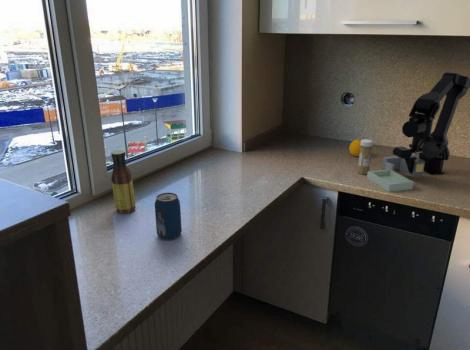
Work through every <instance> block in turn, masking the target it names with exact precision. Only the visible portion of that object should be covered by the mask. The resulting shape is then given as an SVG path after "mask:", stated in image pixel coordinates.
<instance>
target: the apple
mask: <svg viewBox="0 0 470 350" xmlns="http://www.w3.org/2000/svg"><path fill="white" fill-rule="evenodd" d="M361 140H362V139H355V140H353V141H352V142H350V145H349V148H348V149H349V152H350V154H351V155H352V156H354V157H359V155H360V148H361V145H360V144H361Z"/></svg>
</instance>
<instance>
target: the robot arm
mask: <svg viewBox="0 0 470 350" xmlns="http://www.w3.org/2000/svg"><path fill="white" fill-rule="evenodd" d="M469 89H470V77H469V76H468V75H462V74H459V73H457V72H451V71H450V72H449V71H446V72H444V73H443V74H442V75H441V77H440V79H439V80H438V81H437V82H436V84H435V85H434V86H433V88H431V90H430V91H429V92H427V93H423V94H422V95H421V96H419V97H418V98H417V99H416V100H415V102H414V103H413V106H412V108H411V110H410V112H409V113H408V117H409V118H408V120H407V121H405V122H404V123H403V125H402V128H401V131H402V133H403V136H405V137H407V138H412V140H411V143H409V144H408V145H409V146H408V148H407V147H405V146H395V147H394V148H393V149H392V155H393V156H398V157H400V158H404V159H405V161H406V164H407V167H408V170H409V173H412V171H413V166H414V161H415V160H416V159H417V158H419V159H422V160H424V161H425V165H424V171H423V172H425V173H427V174H429V175H440V174H441V175H442V174H445V173H446V172H445V171H443V167H444V163H445V161H448V160H449V157H450V155H451V153H450V149H449V146H448V144H449V140H448V136H447V135H448V131H449V129H450V126H451V123H452V121H453V118H454V115H455V112H456V110H457V106H458V104H459V101H460V100H461V99H462V98H463V97H464V96H465V95H466V94H467V93H468V91H469ZM444 97H445V99H444V102H443V103H442V107H441V103H440V102H441V101H442V100H443V98H444ZM439 111H440V112H439ZM438 113H439V115H438V117H437V118H438V119H437V121H436V124H435V127H434V130H433V131H432V129H433V124H434V123H433V122H434V120H435V119H436V116H437V114H438ZM416 154H418V157H417V156H416ZM416 157H417V158H416Z"/></svg>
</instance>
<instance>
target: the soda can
mask: <svg viewBox="0 0 470 350" xmlns="http://www.w3.org/2000/svg"><path fill="white" fill-rule="evenodd" d="M155 198H156V199H155V202H154V212H155V213H154V215H155V227H156V234H157V236H158V237H159V238H160V239H161V240H162V241H174V240H176V239H178V238H179V237H180V235H181V234H182V214H181V213H182V212H181V200H180V199H179V197H178V195H177V194H176V193H174V192H163V193H160V194H158V195H157V196H156V197H155Z"/></svg>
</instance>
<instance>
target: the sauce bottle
mask: <svg viewBox="0 0 470 350" xmlns="http://www.w3.org/2000/svg"><path fill="white" fill-rule="evenodd" d="M110 155H111V158H112V164H113V165H112V167H113V168H112V173H111V178H110V180H111V185H112V192H113V200H114V205H115V209H116V212H117V213H119V214H123V215H124V214H128V213H129V214H130V213H133V212H134V211H135V210H136V197H135V191H134V184H133V183H134V182H133V177H132V172H131V170H130V168H129V167H128V166H127V163H126V151H125V150H123V149H118V150H116V149H115V150H113V151H111V153H110Z"/></svg>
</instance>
